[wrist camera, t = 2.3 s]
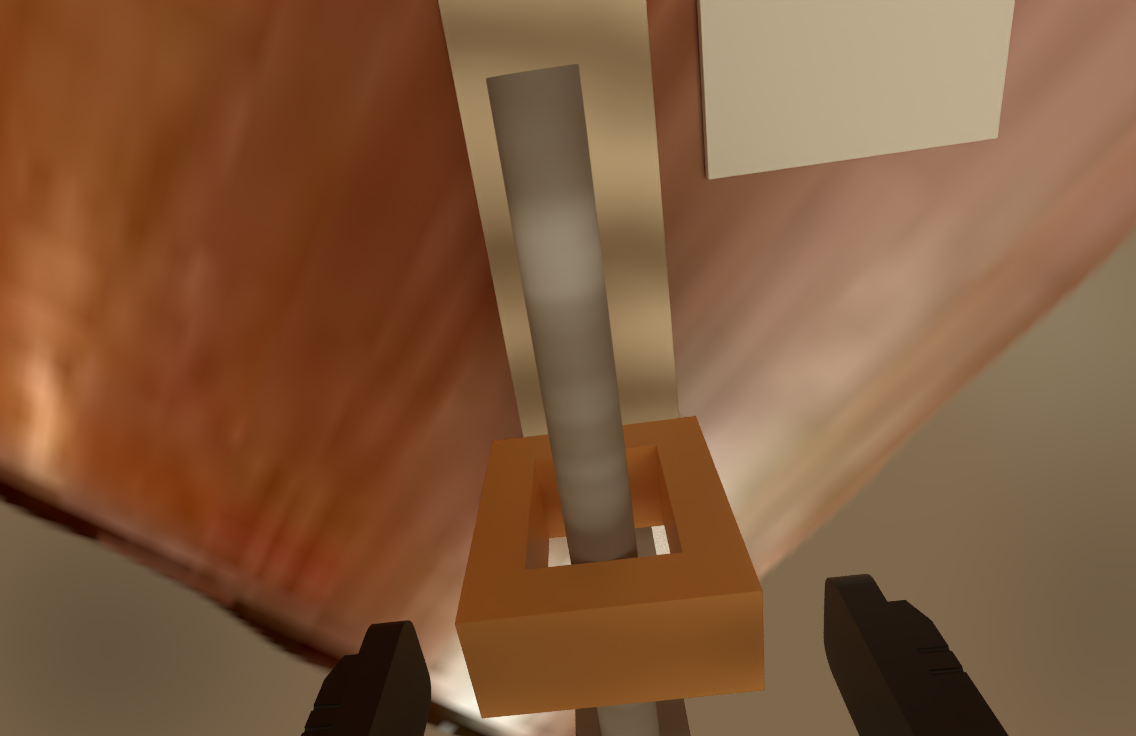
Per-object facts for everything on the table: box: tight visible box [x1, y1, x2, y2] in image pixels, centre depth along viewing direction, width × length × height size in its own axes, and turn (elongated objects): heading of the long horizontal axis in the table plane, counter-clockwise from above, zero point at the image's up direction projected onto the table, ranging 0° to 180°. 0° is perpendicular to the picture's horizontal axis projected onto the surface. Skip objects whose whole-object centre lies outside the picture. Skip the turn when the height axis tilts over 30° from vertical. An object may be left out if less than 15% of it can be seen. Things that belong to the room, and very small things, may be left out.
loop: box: [455, 416, 765, 718], centre depth 15 cm, size 6×2×6 cm, turn 98°
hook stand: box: [438, 0, 690, 736], centre depth 19 cm, size 24×7×18 cm, turn 8°
